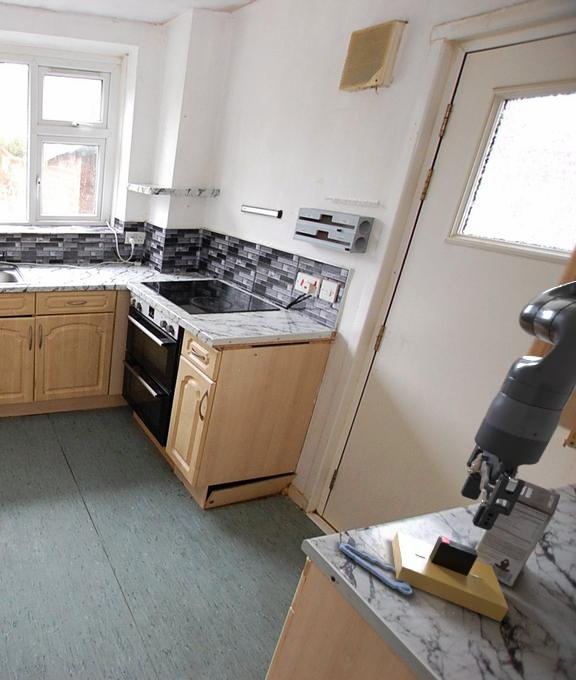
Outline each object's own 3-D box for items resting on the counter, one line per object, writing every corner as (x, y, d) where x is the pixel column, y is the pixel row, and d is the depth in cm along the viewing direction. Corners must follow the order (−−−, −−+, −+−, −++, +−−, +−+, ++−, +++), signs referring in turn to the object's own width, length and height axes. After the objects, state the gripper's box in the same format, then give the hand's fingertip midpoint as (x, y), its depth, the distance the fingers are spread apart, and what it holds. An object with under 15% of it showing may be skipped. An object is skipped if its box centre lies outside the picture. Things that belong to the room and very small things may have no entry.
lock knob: (465, 569, 78) (476, 547, 77) (467, 576, 77) (478, 554, 75) (429, 555, 81) (439, 534, 79) (431, 562, 79) (441, 541, 77)
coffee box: (477, 542, 89) (512, 474, 84) (521, 564, 85) (561, 493, 79) (466, 564, 84) (503, 493, 78) (513, 589, 79) (555, 515, 73)
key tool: (348, 542, 87) (334, 549, 85) (350, 538, 87) (336, 545, 84) (418, 590, 78) (405, 599, 75) (421, 585, 77) (407, 595, 75)
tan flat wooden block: (485, 578, 81) (492, 565, 80) (500, 622, 72) (509, 607, 71) (391, 543, 87) (397, 530, 86) (396, 579, 79) (402, 565, 78)
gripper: (570, 456, 61) (517, 549, 67) (534, 414, 73) (491, 496, 79) (498, 437, 65) (454, 527, 70) (475, 400, 76) (438, 479, 82)
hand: (474, 511), depth 74 cm, fingers open, 8 cm apart
